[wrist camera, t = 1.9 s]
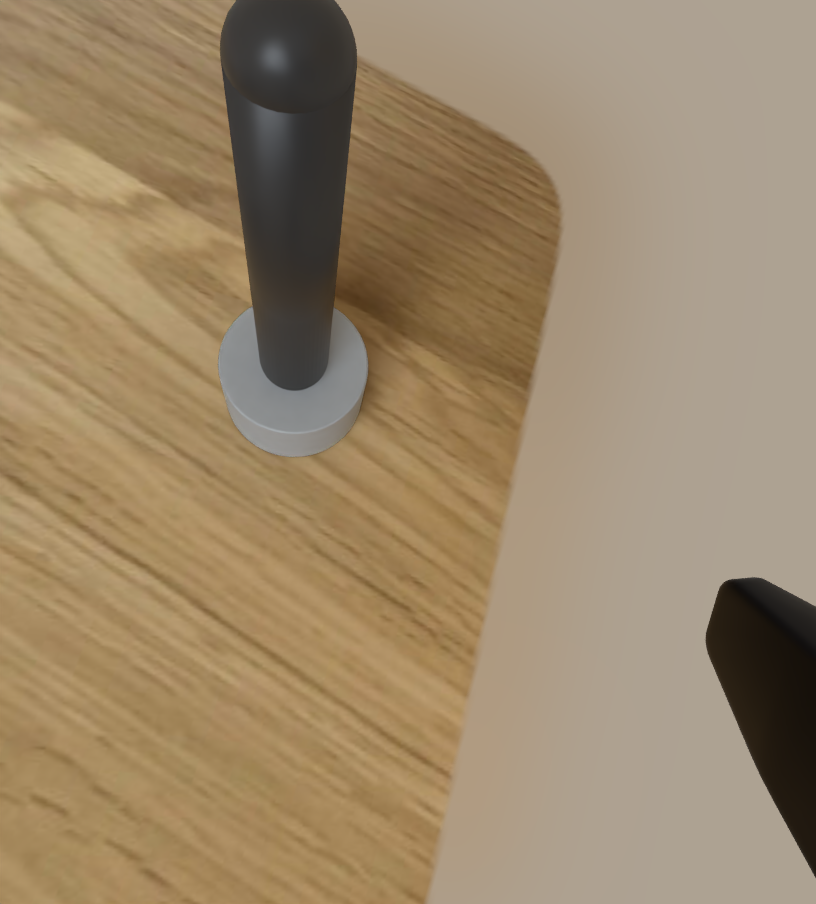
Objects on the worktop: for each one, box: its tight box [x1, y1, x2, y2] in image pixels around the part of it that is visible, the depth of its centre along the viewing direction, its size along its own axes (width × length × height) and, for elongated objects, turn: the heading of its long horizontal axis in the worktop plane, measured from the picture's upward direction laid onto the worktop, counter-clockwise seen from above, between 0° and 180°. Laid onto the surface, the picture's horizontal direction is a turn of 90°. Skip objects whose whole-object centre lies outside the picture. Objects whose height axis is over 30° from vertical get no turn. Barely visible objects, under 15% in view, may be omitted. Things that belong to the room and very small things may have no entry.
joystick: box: [218, 0, 368, 457], centre depth 16 cm, size 4×4×14 cm
